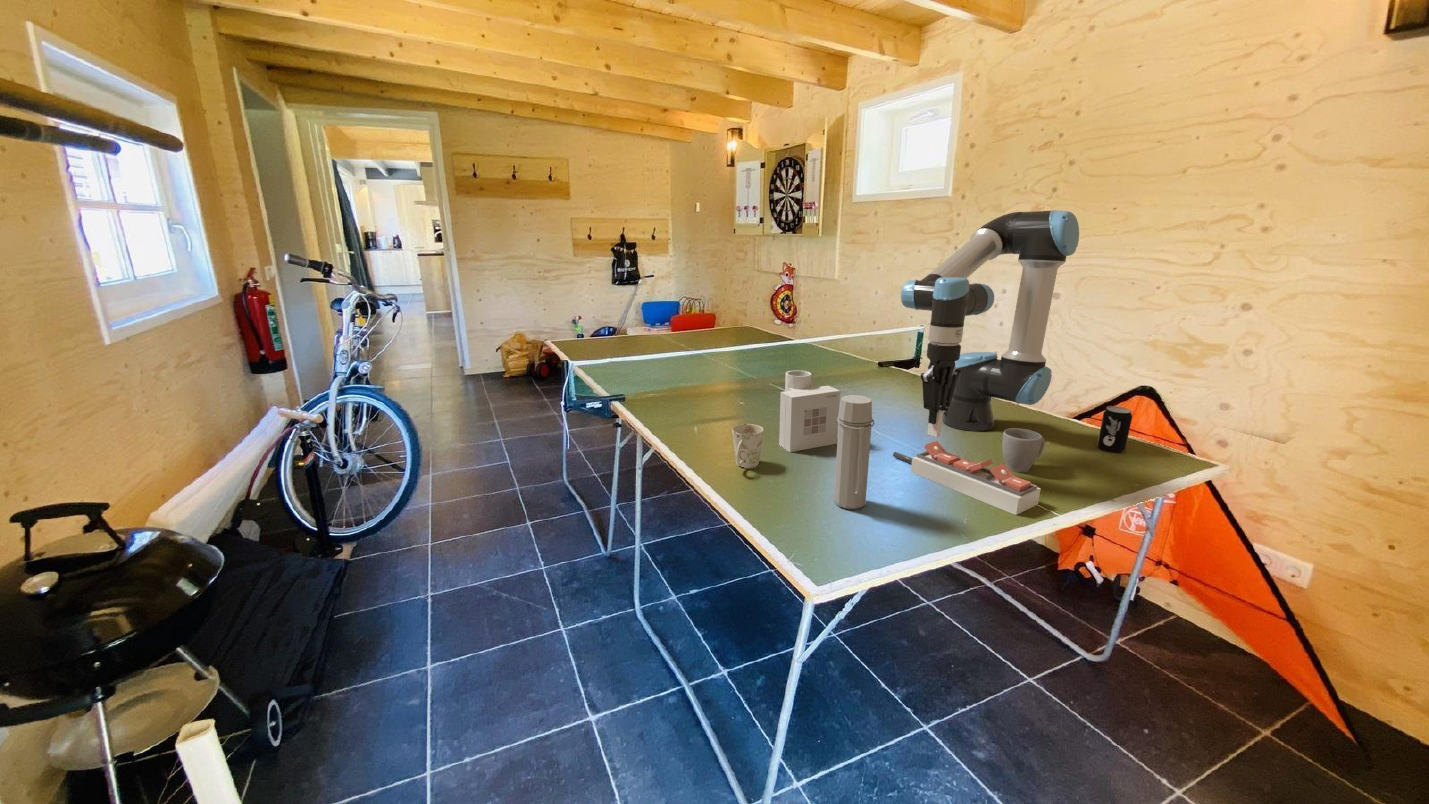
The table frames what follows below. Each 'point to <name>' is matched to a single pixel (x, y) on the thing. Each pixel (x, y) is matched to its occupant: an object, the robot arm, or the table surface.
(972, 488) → the power strip
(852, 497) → the water bottle
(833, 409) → the white detergent container
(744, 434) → the mug
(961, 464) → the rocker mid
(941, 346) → the robot arm
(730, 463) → the table surface
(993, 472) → the rocker
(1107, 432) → the beverage can
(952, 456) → the rocker
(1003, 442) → the mug
